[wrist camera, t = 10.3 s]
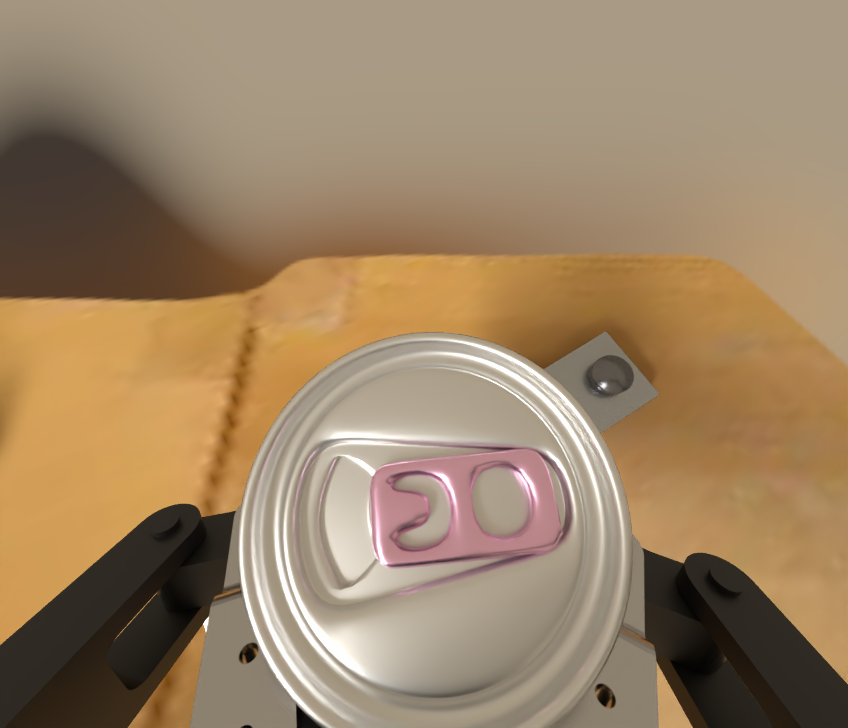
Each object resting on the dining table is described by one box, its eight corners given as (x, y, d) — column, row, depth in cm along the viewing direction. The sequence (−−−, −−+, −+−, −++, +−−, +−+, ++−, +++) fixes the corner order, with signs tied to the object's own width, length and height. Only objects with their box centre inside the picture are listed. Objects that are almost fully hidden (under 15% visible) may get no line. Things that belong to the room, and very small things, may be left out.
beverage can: (498, 540, 18) (724, 768, 4) (387, 552, 18) (197, 825, 4) (480, 428, 20) (586, 300, 6) (380, 439, 20) (236, 340, 6)
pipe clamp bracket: (565, 303, 25) (581, 281, 22) (682, 445, 21) (719, 440, 19) (192, 521, 21) (154, 528, 18) (260, 733, 18) (226, 782, 15)
